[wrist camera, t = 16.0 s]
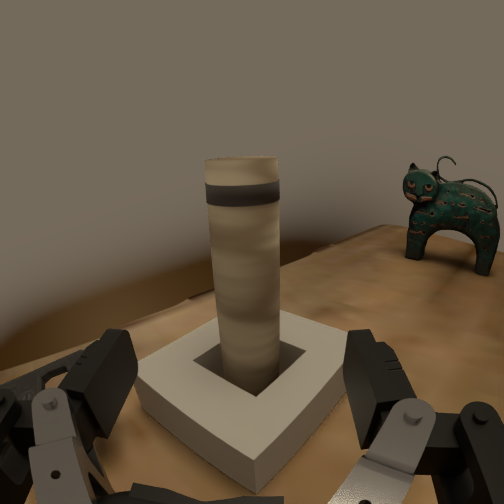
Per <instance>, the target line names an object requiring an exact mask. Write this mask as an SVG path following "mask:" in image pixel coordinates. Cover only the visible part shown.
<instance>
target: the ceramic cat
mask: <svg viewBox="0 0 504 504" xmlns="http://www.w3.org/2000/svg"><path fill="white" fill-rule="evenodd" d="M443 158H448V159H450V160H452V161H453V162H454V164H455V165H456V163H455V161H454V160H453V159H452V158H451V157H448V156H443V157H441V158H440V159H439V160H438V163H437V171H433V172H430V171H428V170H424V169H421V170H420V169H419V168H417V166H416V165H415V164H414V163H412V164H411V165H410V168H409V172H408V174H407V175H406V176H405V178H404V180H403V191H404V195H405V197H406V198H407V199H408V200H410V201H411V202H413V204H414V206H413V208H412V211H411V214H410V217H409V228H408V232H407V246H406V255H405V258H409V259H414V260H420V259H421V258H422V257H423V255H424V251H425V246H426V244H427V240H428V238H429V237H430V236H431V235H432V234H434V233H435V232H437V231H439V230H455V231H459V232H461V233H463V234H465V235H466V236H468V237H469V238H470V239H471V240H472V241H473V243H474V244H475V248H476V255H477V257H476V264H475V273H476V274H479V275H484V276H488V275H489V272H490V269H491V266H492V263H493V260H494V257H495V254H496V251H497V247H498V242H499V238H500V226H499V221H498V218H497V208H498V204H497V199H496V196H495V194H494V192H493V190H492V189H491V188H490V187H489V186H488V185H486V184H485V183H482V182H480V181H478V180H474V179H464V180H458V181H452V182H451V181H447V180H445V179H443V178H442V177H440V175H439V170H438V164H439V161H440V160H441V159H443ZM437 174H438V175H437ZM440 179H441V180H443V181H444V182H446V183H442V182H441V181H440ZM464 181H474V182H477V183H479V184H481V185H483V186H485V187H487V188H488V189H489V190H490V191H491V193H492V194H493V196H494V198H495V201H496V205H494V204H493V202H492V200H491V199H490V198H489V196H488V195H487V194H486V193H485V192H483V191H482V190H480V189H478V188H476V187H474V186H471V185H467V184H463V182H464Z"/></svg>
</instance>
